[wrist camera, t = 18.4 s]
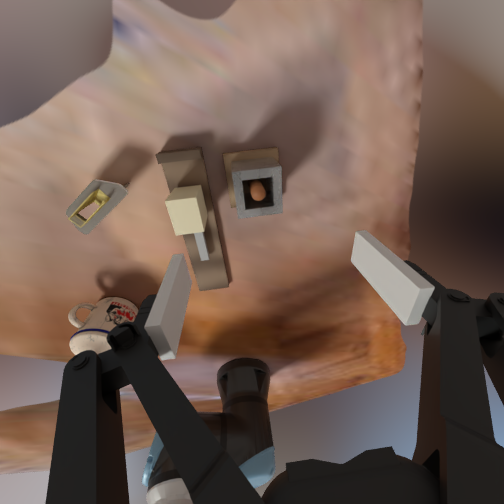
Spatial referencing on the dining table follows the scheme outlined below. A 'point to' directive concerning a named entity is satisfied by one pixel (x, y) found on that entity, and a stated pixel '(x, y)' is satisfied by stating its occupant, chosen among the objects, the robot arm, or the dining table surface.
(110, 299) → the teacup with lid
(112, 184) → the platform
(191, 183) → the rail
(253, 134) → the dining table surface
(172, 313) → the robot arm
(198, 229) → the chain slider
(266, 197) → the grey hollow square block
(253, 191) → the square plate with peg
